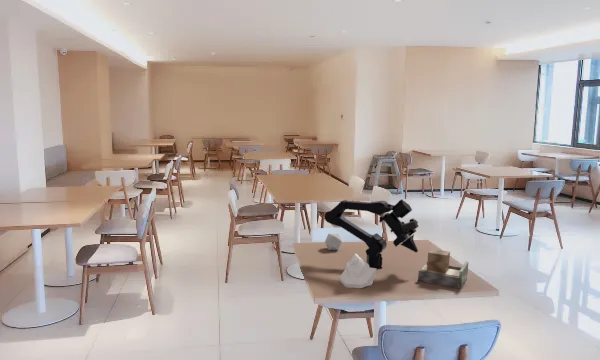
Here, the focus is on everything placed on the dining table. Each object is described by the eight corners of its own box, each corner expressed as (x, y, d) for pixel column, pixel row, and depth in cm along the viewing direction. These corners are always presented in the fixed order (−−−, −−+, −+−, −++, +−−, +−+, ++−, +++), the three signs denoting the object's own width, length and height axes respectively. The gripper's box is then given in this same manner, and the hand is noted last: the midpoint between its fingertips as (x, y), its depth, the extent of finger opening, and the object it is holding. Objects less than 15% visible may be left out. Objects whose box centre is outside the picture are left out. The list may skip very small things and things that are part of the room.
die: (336, 254, 249) (346, 237, 251) (321, 244, 250) (331, 228, 252) (334, 255, 258) (344, 239, 260) (320, 245, 259) (330, 230, 261)
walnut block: (426, 270, 213) (428, 252, 212) (430, 265, 220) (431, 248, 218) (445, 273, 210) (446, 255, 209) (448, 269, 216) (450, 251, 215)
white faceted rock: (373, 294, 198) (371, 263, 193) (337, 292, 202) (334, 262, 197) (377, 277, 209) (375, 248, 204) (342, 275, 213) (339, 247, 208)
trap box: (418, 280, 211) (419, 264, 210) (426, 270, 225) (427, 255, 224) (460, 288, 203) (462, 271, 202) (467, 278, 217) (468, 261, 216)
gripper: (402, 217, 210) (426, 246, 207) (413, 210, 226) (435, 237, 223) (383, 232, 215) (406, 260, 211) (395, 224, 231) (417, 250, 228)
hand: (417, 251), depth 218 cm, fingers closed
